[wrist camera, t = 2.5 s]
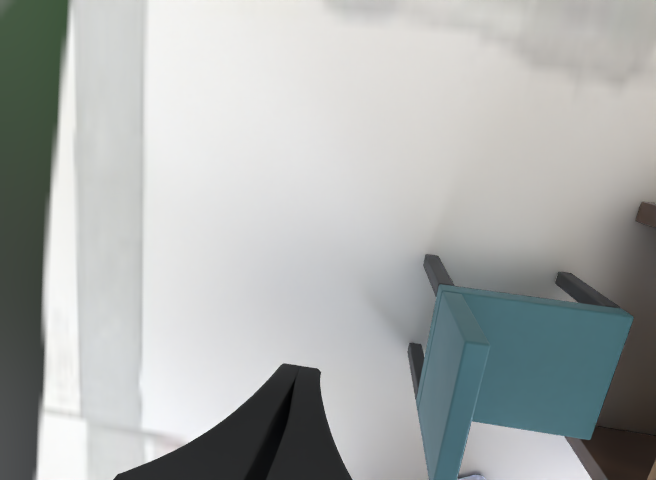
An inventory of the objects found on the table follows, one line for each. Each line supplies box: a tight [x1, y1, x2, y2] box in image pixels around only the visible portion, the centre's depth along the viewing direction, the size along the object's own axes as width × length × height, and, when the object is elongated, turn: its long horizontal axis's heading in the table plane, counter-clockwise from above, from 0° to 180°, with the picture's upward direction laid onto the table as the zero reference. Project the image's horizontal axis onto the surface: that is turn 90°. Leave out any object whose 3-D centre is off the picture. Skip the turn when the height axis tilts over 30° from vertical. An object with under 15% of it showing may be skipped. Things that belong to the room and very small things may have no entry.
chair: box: [408, 255, 634, 480], centre depth 17 cm, size 8×6×9 cm
